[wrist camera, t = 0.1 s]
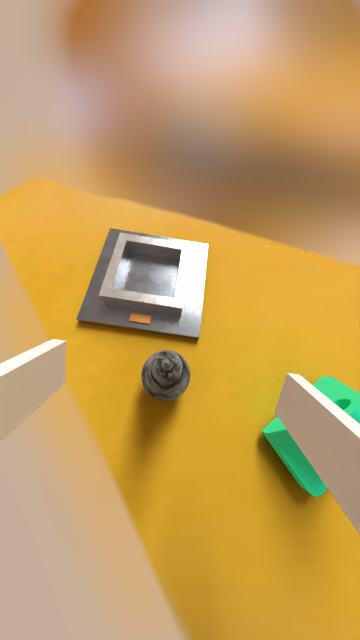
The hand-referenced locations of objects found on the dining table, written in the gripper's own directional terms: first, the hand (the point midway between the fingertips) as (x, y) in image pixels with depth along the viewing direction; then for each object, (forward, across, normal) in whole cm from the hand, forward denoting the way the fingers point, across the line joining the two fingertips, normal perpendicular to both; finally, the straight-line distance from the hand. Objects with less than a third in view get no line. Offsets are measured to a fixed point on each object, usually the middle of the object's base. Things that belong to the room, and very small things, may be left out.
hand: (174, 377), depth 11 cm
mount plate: (+22, +6, -5) cm, 23 cm away
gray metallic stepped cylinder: (+14, +1, +8) cm, 16 cm away
